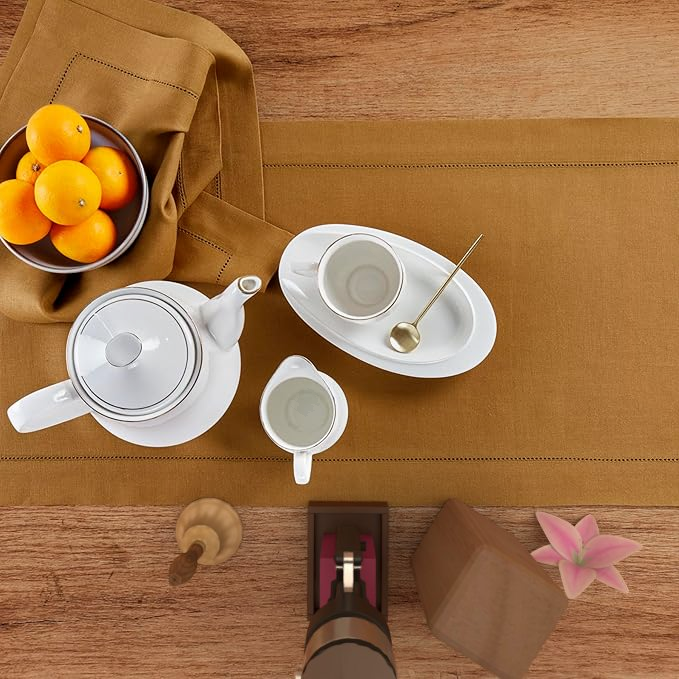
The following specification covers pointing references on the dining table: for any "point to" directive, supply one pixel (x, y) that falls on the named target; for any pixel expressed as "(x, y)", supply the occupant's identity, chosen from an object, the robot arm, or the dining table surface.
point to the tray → (325, 521)
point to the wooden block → (484, 591)
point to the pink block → (330, 568)
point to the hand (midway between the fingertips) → (347, 563)
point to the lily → (583, 553)
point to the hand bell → (204, 537)
